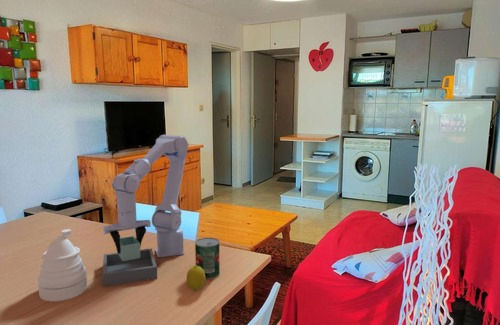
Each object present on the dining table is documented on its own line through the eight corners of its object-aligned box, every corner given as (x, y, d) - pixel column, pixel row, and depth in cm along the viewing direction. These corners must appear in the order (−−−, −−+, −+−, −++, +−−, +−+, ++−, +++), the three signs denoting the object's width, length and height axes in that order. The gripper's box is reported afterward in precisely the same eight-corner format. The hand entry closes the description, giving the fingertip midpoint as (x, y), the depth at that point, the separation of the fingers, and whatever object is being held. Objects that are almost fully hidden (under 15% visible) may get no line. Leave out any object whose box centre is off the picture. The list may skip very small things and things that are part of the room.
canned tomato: (191, 272, 122) (190, 241, 120) (210, 266, 127) (210, 235, 125) (204, 281, 116) (203, 248, 114) (224, 274, 121) (224, 242, 119)
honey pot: (75, 276, 119) (71, 222, 116) (95, 288, 111) (91, 231, 108) (31, 291, 109) (26, 233, 107) (50, 306, 101) (45, 243, 98)
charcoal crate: (152, 259, 132) (151, 248, 132) (157, 278, 118) (156, 266, 117) (104, 265, 127) (103, 254, 126) (103, 286, 112) (102, 274, 112)
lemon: (202, 296, 107) (201, 270, 106) (184, 294, 108) (183, 268, 107) (208, 287, 112) (207, 262, 111) (190, 285, 113) (190, 260, 112)
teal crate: (134, 249, 126) (133, 235, 126) (140, 257, 120) (139, 243, 119) (117, 252, 124) (116, 238, 123) (122, 261, 117) (121, 246, 116)
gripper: (145, 204, 126) (147, 242, 128) (100, 210, 119) (103, 250, 121) (151, 209, 120) (153, 249, 122) (104, 216, 113) (107, 258, 115)
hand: (128, 250), depth 121 cm, fingers closed on teal crate, 6 cm apart
